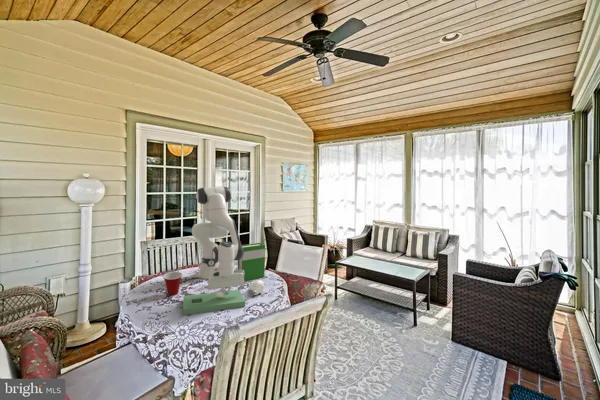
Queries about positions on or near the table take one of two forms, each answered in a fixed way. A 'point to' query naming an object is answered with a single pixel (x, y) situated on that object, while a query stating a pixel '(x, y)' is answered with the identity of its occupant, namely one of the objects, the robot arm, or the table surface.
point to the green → (212, 302)
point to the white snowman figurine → (257, 287)
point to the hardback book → (253, 261)
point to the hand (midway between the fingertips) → (226, 294)
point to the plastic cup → (172, 282)
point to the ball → (219, 294)
